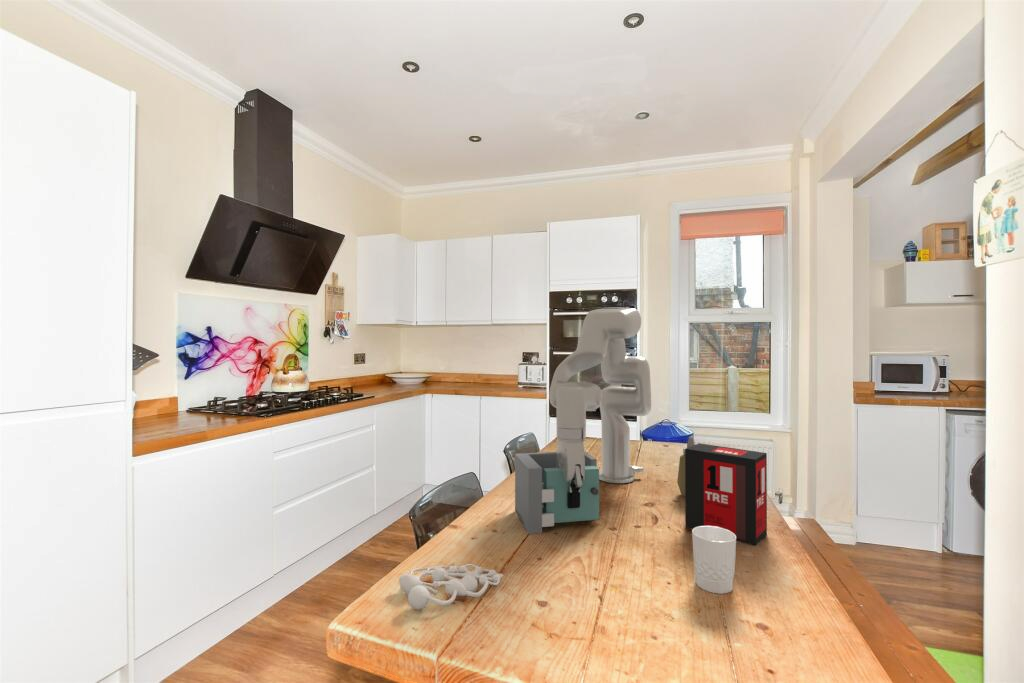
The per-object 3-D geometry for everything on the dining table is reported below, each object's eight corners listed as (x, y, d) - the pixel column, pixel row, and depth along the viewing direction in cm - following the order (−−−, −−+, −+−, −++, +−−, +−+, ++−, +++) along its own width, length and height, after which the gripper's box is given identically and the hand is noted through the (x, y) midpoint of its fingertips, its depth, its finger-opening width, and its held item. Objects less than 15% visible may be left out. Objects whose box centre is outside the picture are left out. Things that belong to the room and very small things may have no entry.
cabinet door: (594, 515, 125) (594, 465, 125) (601, 521, 121) (600, 469, 121) (543, 519, 122) (543, 468, 122) (547, 525, 118) (547, 472, 118)
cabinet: (583, 506, 136) (583, 450, 136) (605, 527, 120) (605, 464, 120) (515, 511, 132) (515, 453, 132) (528, 534, 116) (528, 468, 116)
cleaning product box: (685, 527, 121) (685, 448, 121) (699, 517, 127) (699, 443, 127) (755, 546, 109) (755, 459, 109) (766, 534, 116) (766, 453, 116)
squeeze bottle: (676, 498, 143) (676, 438, 143) (678, 490, 150) (677, 433, 151) (705, 501, 140) (705, 440, 140) (705, 493, 147) (705, 435, 147)
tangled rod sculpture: (485, 569, 102) (485, 549, 102) (515, 595, 89) (514, 572, 89) (394, 586, 93) (394, 564, 94) (412, 618, 80) (412, 593, 81)
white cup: (733, 600, 87) (733, 545, 87) (688, 588, 91) (688, 536, 91) (738, 581, 93) (738, 530, 93) (696, 571, 97) (696, 522, 97)
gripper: (548, 428, 129) (548, 496, 129) (567, 440, 113) (567, 517, 113) (574, 427, 131) (574, 494, 131) (596, 439, 115) (597, 515, 115)
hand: (571, 504), depth 122 cm, fingers closed on cabinet door, 3 cm apart
